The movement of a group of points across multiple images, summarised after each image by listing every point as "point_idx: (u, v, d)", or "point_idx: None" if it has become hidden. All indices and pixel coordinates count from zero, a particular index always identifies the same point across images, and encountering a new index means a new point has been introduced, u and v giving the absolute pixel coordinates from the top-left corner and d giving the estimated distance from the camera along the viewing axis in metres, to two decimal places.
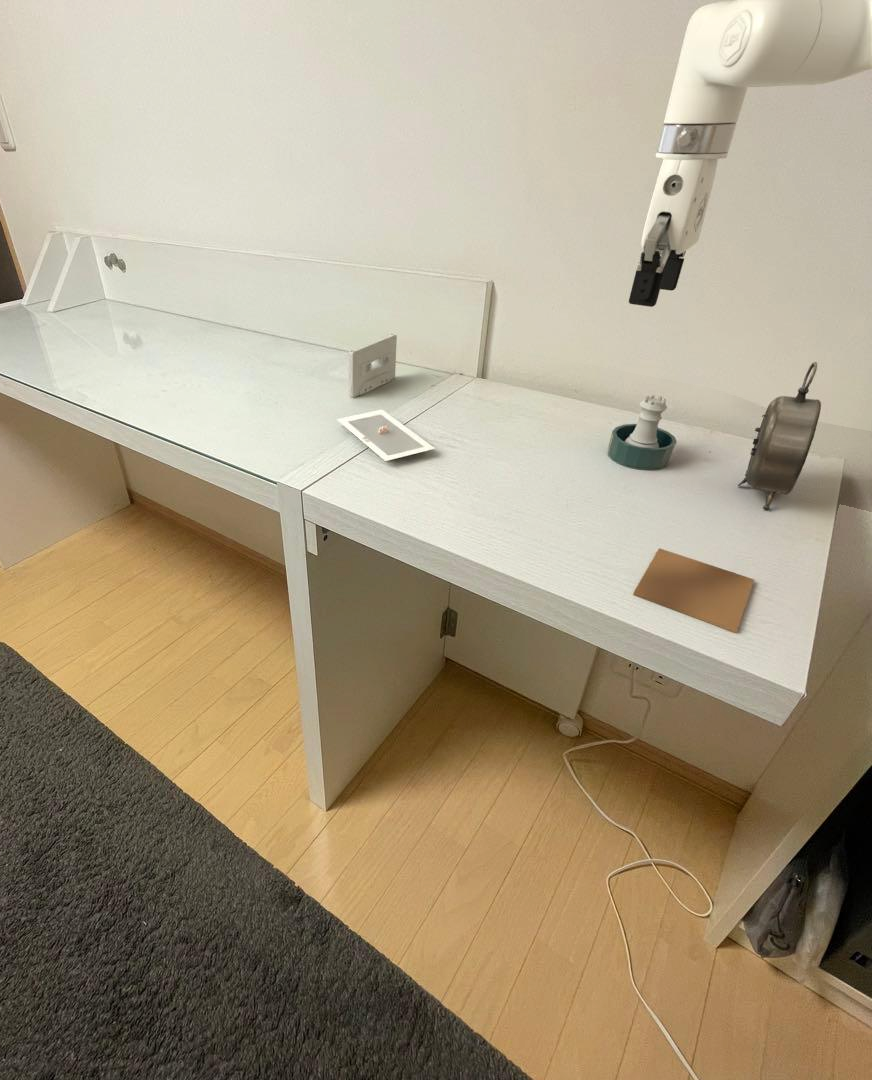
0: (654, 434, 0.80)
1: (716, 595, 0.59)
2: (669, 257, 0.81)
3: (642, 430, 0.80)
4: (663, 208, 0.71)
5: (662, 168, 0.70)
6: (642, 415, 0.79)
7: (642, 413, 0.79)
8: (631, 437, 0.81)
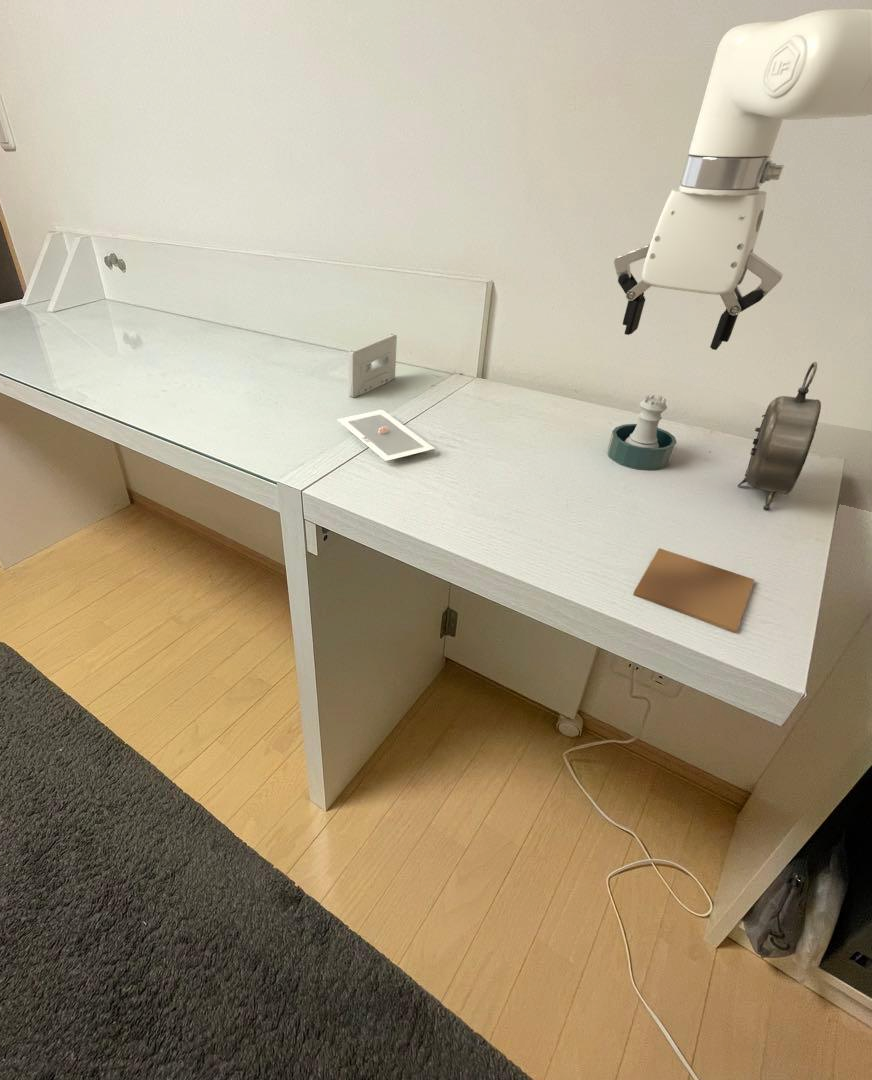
0: (654, 434, 0.80)
1: (716, 595, 0.59)
2: (640, 299, 0.74)
3: (642, 430, 0.80)
4: (752, 246, 0.65)
5: (754, 205, 0.62)
6: (642, 415, 0.79)
7: (642, 413, 0.79)
8: (631, 437, 0.81)
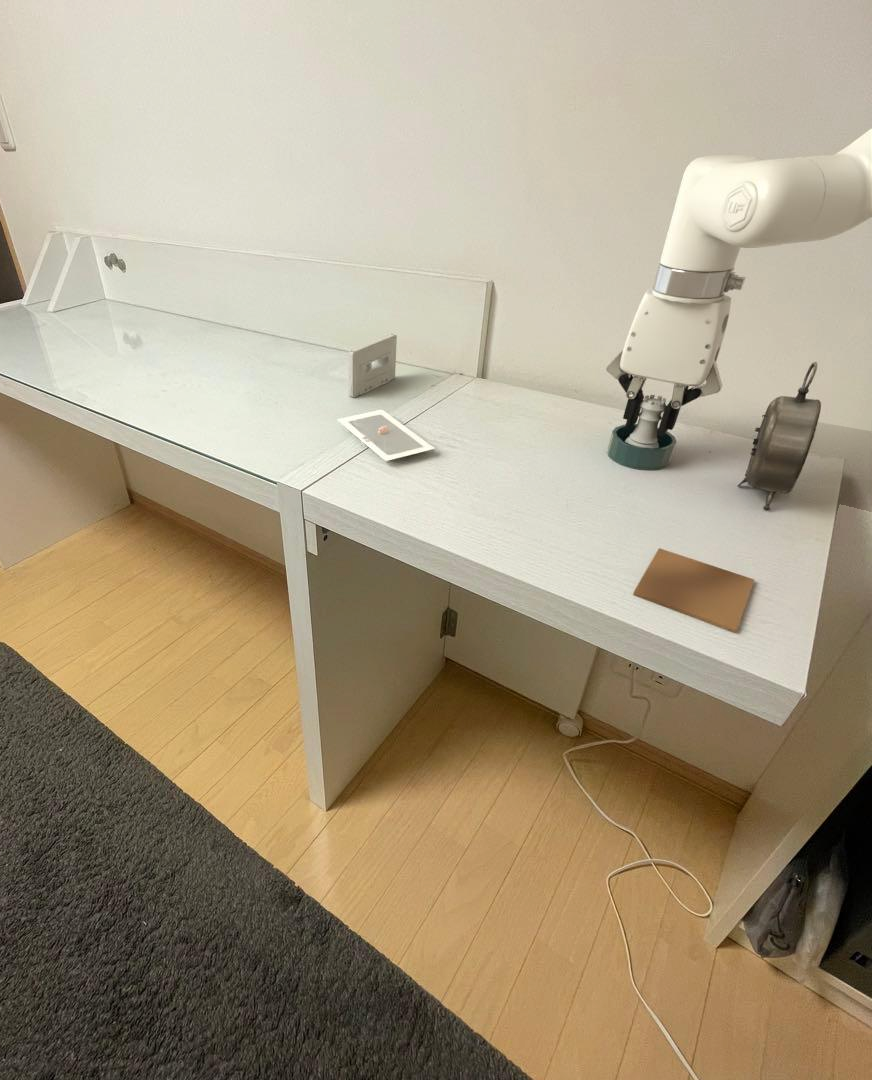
0: (654, 434, 0.80)
1: (716, 595, 0.59)
2: (639, 397, 0.79)
3: (642, 430, 0.80)
4: (719, 345, 0.71)
5: (719, 312, 0.68)
6: (642, 415, 0.79)
7: (642, 413, 0.79)
8: (631, 437, 0.81)
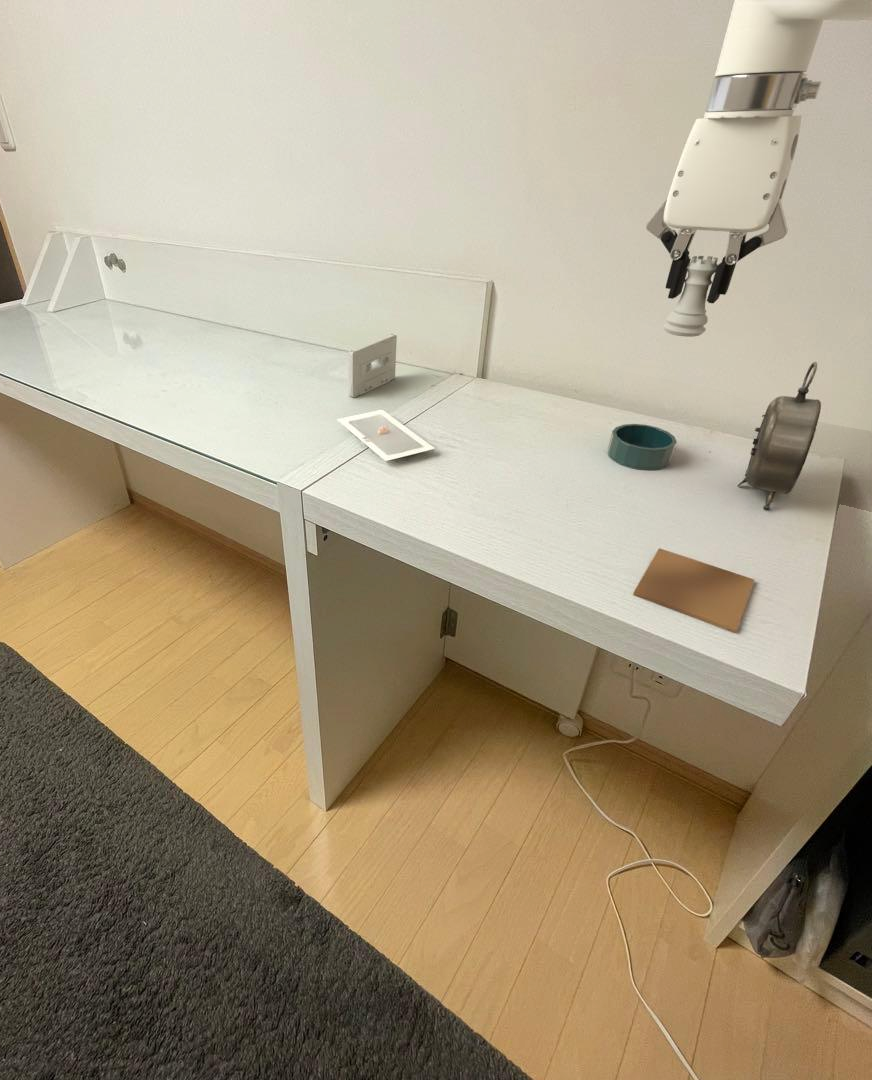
0: (703, 303, 0.68)
1: (716, 595, 0.59)
2: (686, 258, 0.68)
3: (689, 299, 0.68)
4: (786, 175, 0.60)
5: (789, 128, 0.57)
6: (689, 279, 0.68)
7: (689, 277, 0.68)
8: (675, 309, 0.70)
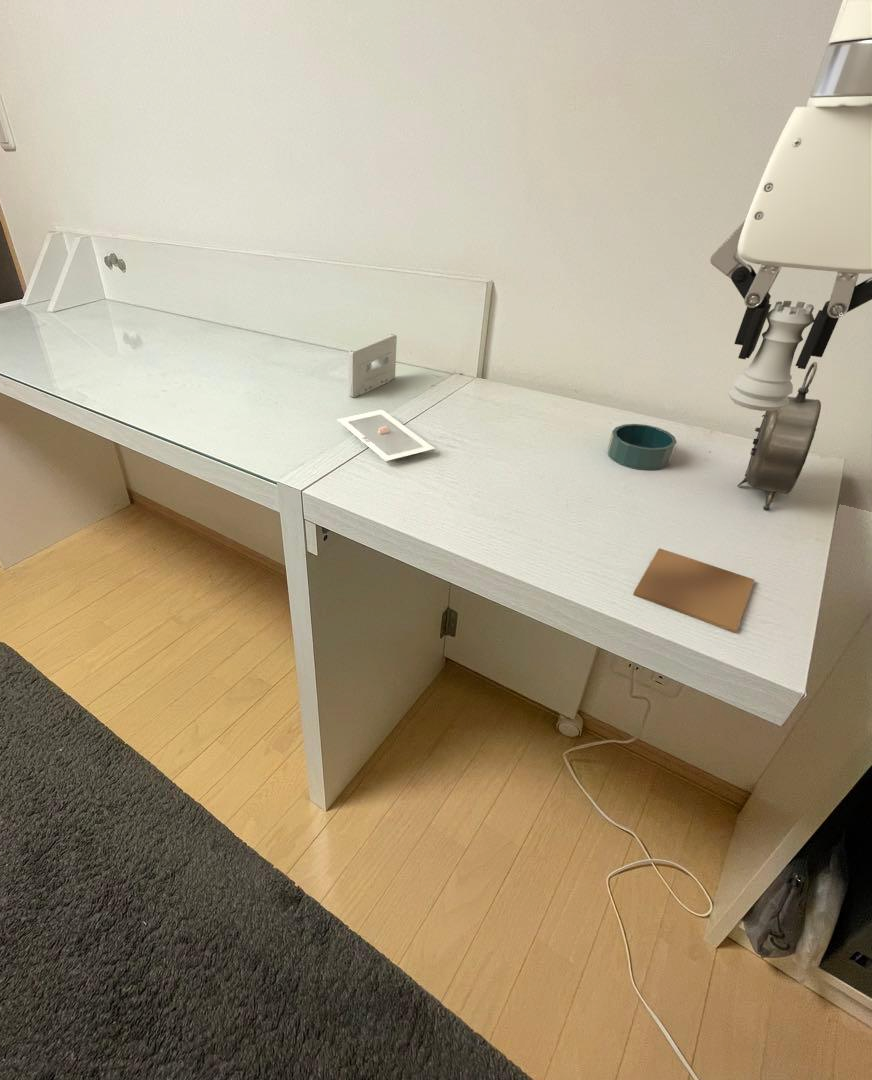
0: (789, 366, 0.49)
1: (716, 595, 0.59)
2: (766, 305, 0.48)
3: (770, 360, 0.49)
4: None
5: None
6: (770, 334, 0.48)
7: (770, 331, 0.48)
8: (747, 373, 0.51)
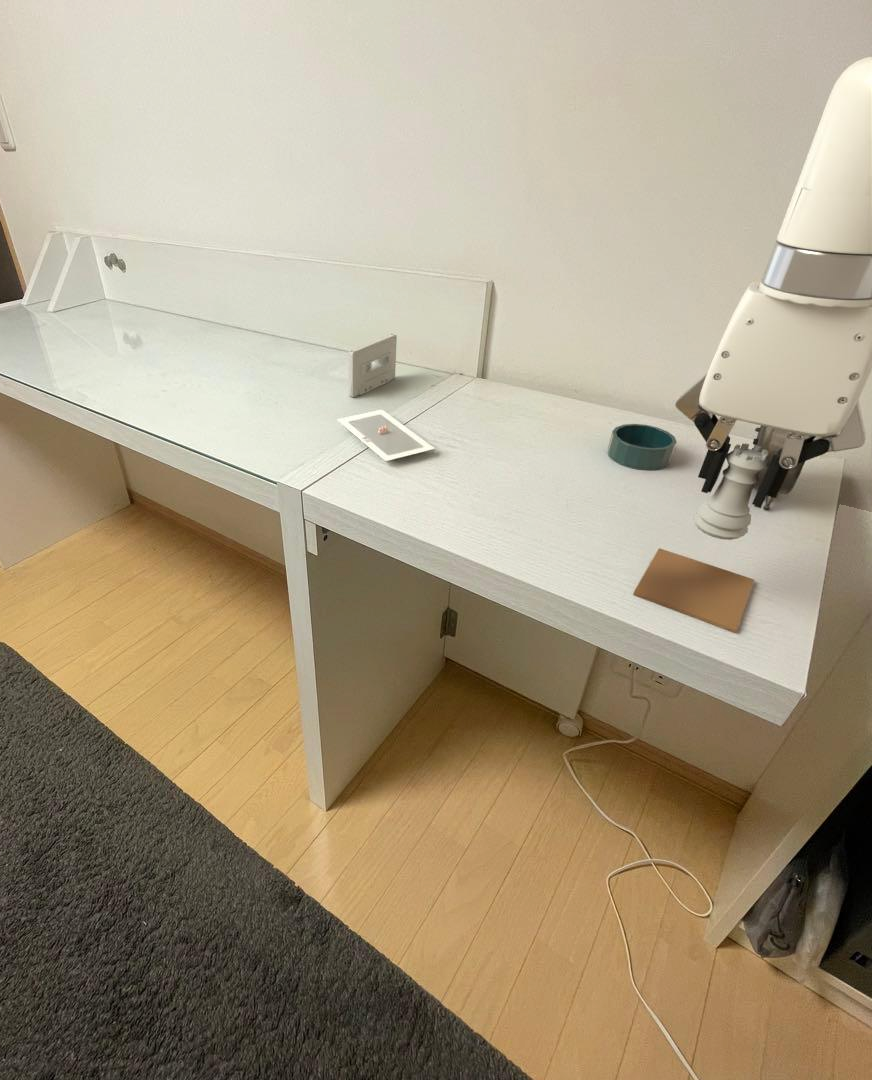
0: (746, 502, 0.53)
1: (716, 595, 0.59)
2: (726, 447, 0.53)
3: (729, 497, 0.53)
4: (869, 373, 0.44)
5: None
6: (730, 474, 0.53)
7: (730, 471, 0.53)
8: (710, 504, 0.55)
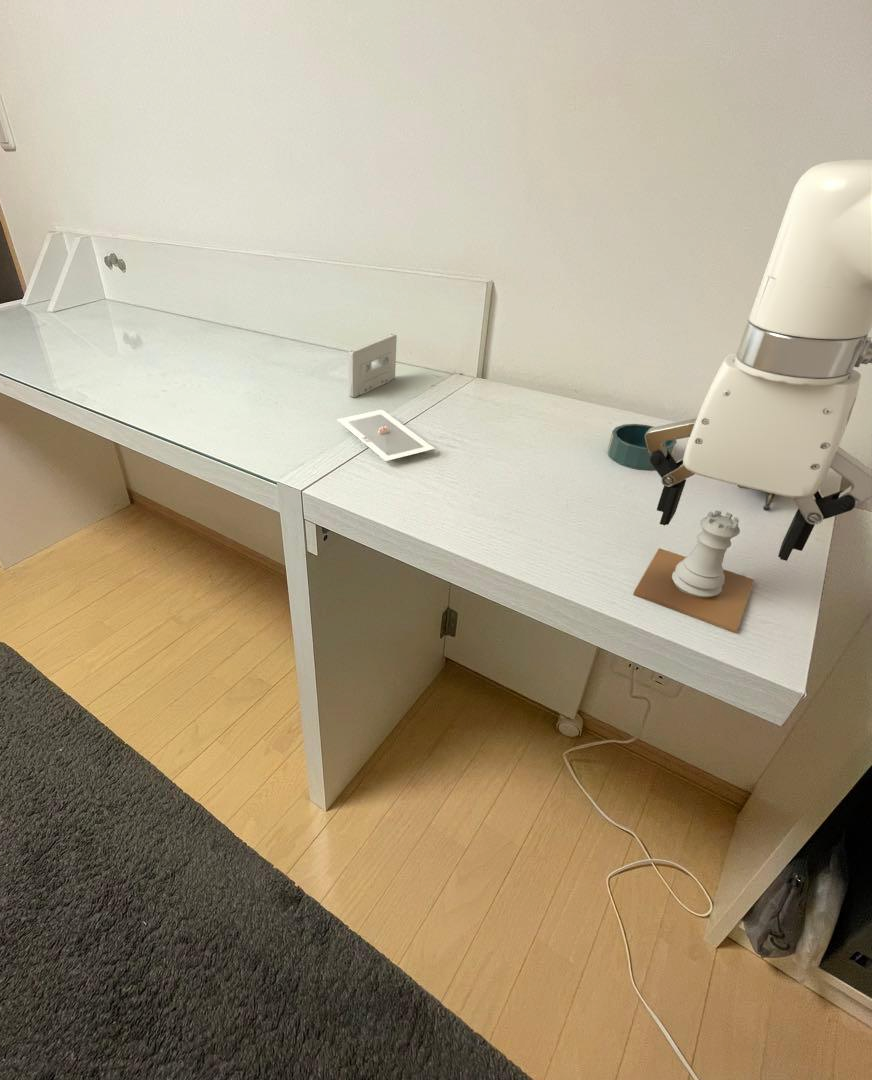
0: (720, 564, 0.57)
1: (716, 595, 0.59)
2: (680, 483, 0.56)
3: (704, 559, 0.57)
4: None
5: (846, 397, 0.45)
6: (704, 539, 0.57)
7: (704, 536, 0.57)
8: (686, 565, 0.59)
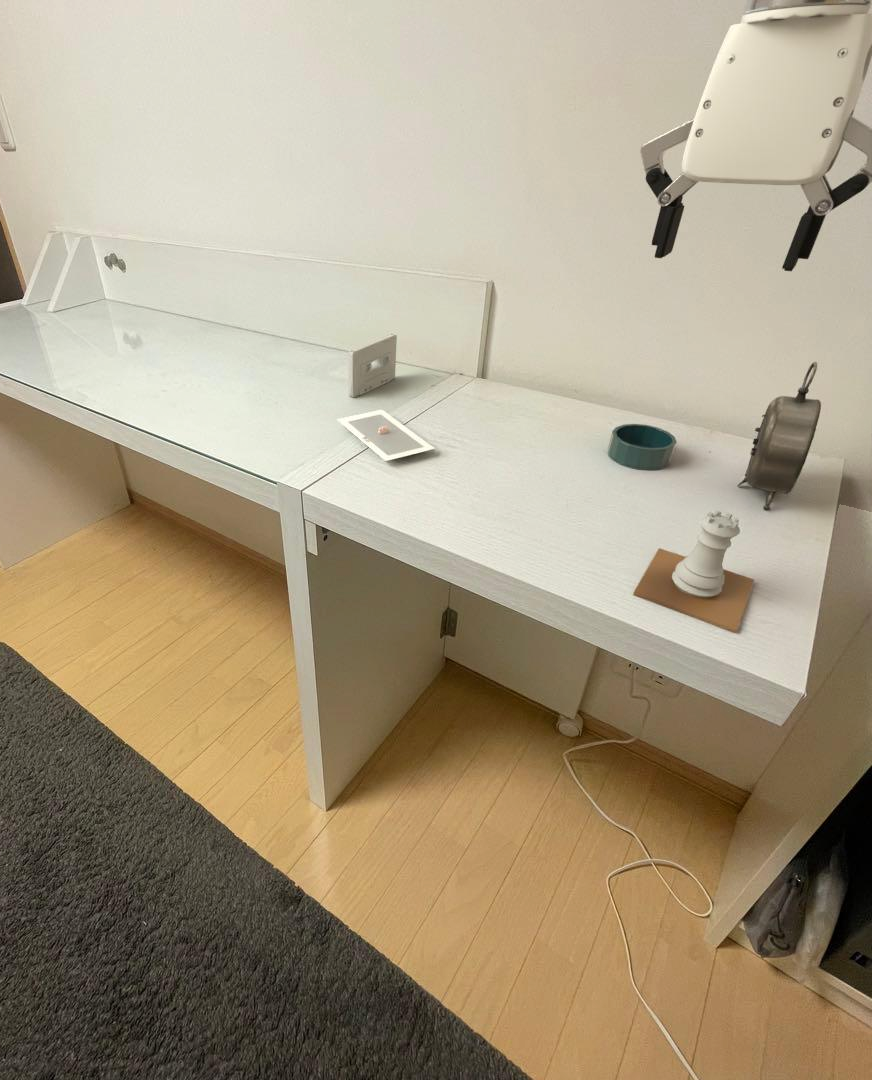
0: (720, 564, 0.57)
1: (716, 595, 0.59)
2: (678, 204, 0.52)
3: (704, 559, 0.57)
4: (854, 103, 0.43)
5: (864, 31, 0.40)
6: (704, 539, 0.57)
7: (704, 536, 0.57)
8: (686, 565, 0.59)
